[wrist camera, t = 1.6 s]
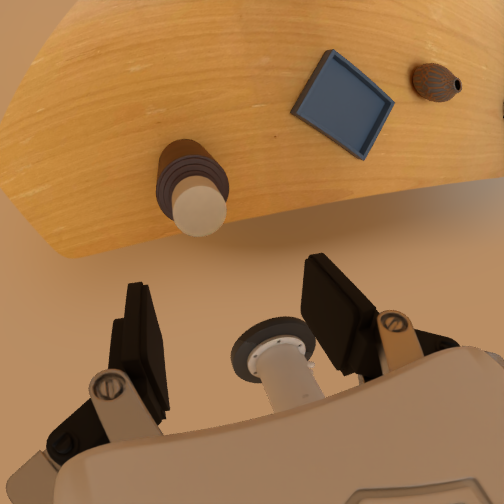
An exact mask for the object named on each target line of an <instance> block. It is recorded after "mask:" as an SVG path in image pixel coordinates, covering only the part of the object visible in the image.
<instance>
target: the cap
mask: <svg viewBox="0 0 504 504" xmlns="http://www.w3.org/2000/svg"><path fill="white" fill-rule="evenodd" d="M172 211H173V219H174V222H175V224H176V225H177V227H178V228H179V229H180V230H181V231H182V232H183V233H185V234H187V235H190V236H194V237H203V236H207V235H210V234H212V233H213V232H215V231H216V230H217V229H218V228H220V226H221V225H222V224H223V222H224V220H225V217H226V212H227V208H226V203H225V200H224V198H223V197H222V195H221V193H220V192H219V190H218V189H217V187H216V186H215V184H214V183H213V182H212V181H211V180H209V179H208V178H206V177H203V176H190V177H187V178H185V179H183V180H182V181H180V182H179V183H178V184H177V185H176V187H175V189H174V191H173V193H172Z"/></svg>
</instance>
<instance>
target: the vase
mask: <svg viewBox="0 0 504 504" xmlns="http://www.w3.org/2000/svg"><path fill="white" fill-rule="evenodd" d="M413 84H414V87H415V89H416V90H417V92H418V93H419V94H420V95H421V96H422V97H424V98H425V99H427V100H430V101H433V102H445V101H448V100H450V99H451V98H453V97H454V96H455V94H457V93H459V92H460V91H461V90H462V84H461V81H460V79H459V78H457V77H455V76H454V75H453V74H452V73H451V72H450V71H449V70H448V69H447V68H445V67H444V66H442V65H439V64H435V63H427V64H423V65H421V66H419V67H418V68H417V69H416V70H415V72H414V75H413Z"/></svg>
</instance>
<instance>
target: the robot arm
mask: <svg viewBox="0 0 504 504" xmlns="http://www.w3.org/2000/svg"><path fill="white" fill-rule="evenodd" d="M301 315H302V317H303V319H304V320H305V322H306V323H307V325H308V326H309V328H310V329H311V331H312V333H313V334H314V336H315V337H316V339H317V340H318V342H319V344H320V345H321V347H322V348H323V350H324V351H325V353H326V354H327V356H328V358H329V359H330V361H331V362H332V364H333V365H334V367H335V368H336V369H337V370H340V371H341V372H342V373H343V375H344V376H346V375H349V374H352V373H356V374H358V379H359V386H356V387H354V388H351V389H348V390H345V391H343V392H340V393H337V394H334V395H332V396H329V397H326V398H325V396H324V394H323V393H322V391H321V389H320V387H319V385H318V384H317V382H316V380H315V378H314V377H313V370H312V369H309V368H313V367H314V366H315V363H314V362H310V361H309V362H307V360H306V358H305V356H304V355H305V345H304V343H303V342H302V340H301V339H300V338H298V337H296V336H294V335H278V336H274V337H271V338H269V339H267V340H265V341H263V342H261V343H260V344H259V345H257V346H256V347H255V348H254V349H253V350H252V351H251V353H250V354H249V356H248V359H247V366H248V369H249V371H250V373H251V374H252V375H254V376H256V377H259V378H260V379H261V381H262V384H263V386H264V389H265V391H266V394H267V396H268V399H269V401H270V403H271V406H272V408H273V411H274V414H270V415H267V416H262V417H259V418H255V419H250V420H246V421H242V422H238V423H233V424H228V425H223V426H219V427H213V428H208V429H202V430H196V431H190V432H184V433H177V434H170V435H163V433H162V432H161V430H160V429H159V427H158V425H159V424H160V423H161V422H162V420H163V419H166V414H165V411H169V410H170V406H169V398H168V389H167V382H166V381H167V380H166V371H165V360H164V348H163V339H162V335H161V331H160V328H159V324H158V321H157V317H156V313H155V310H154V306H153V302H152V298H151V294H150V290H149V287H148V285H143V283H142V282H137V283H129V284H128V289H127V296H126V305H125V314H124V318H121V319H115V320H114V321H113V329H112V336H111V344H110V355H109V364H108V369H107V370H104V371H101V372H100V373H98V374H96V375H95V376H94V377H93V378H92V380H91V382H90V384H89V394H90V397H91V398H90V399H89V400H87V401H86V402H85V403H84V404H83V405H82V406H81V407H80V408H78V409H77V410H76V411H75V412H74V413H73V414H72V415H71V416H69V417H68V418H67V419H66V420H65V421H64V422H63V423H62V424H60V425H59V426H58V427H57V428H56V429H55V430H54V431H53V432H52V433H51V434H50V435H49V437H48V439H47V445H46V448H47V449H46V450H45V451H43V452H42V451H41V450H39V451H38V452H37V453H36V454H35V455H34V456H33V457H32V458H31V459H29V460H28V461H27V462H26V463H25V464H24V465H23V466H22V467H21V468H19V469H18V470H17V471H16V472H15V473H14V474H13V475H12V476H11V477H10V478H9V479H8V481H7V484H6V492H7V494H8V497H9V499H10V501H11V502H12V503H13V504H504V360H503V358H501V356H499V355H497V354H495V353H491V352H487V351H483V350H481V349H479V348H476V347H471V346H462V347H460V345H459V344H458V343H457V342H456V341H454V340H453V339H451V338H448V337H444V336H441V335H436V334H432V333H428V332H424V331H420V330H416V329H414V328H413V326H412V323H411V321H410V319H409V318H408V317H407V316H406V315H405V314H403V313H401V312H398V311H394V310H387V311H383V312H381V313H379V312H378V311H377V310H376V307H375V306H374V305H373V304H372V303H371V302H370V301H369V300H368V299H367V298H366V296H365V295H364V294H363V293H362V292H361V291H360V290H359V289H358V288H357V287H356V286H355V285H354V284H353V283H352V282H351V281H350V280H349V279H348V278H347V277H346V276H345V275H344V274H343V272H341V270H340V269H339V268H338V267H337V266H335V264H334V263H333V262H332V261H331V260H330V259H329V258H328V257H327V256H326V255H325V254H324V253H319V254H313V255H310V256H309V257H308V259H306V260H305V266H304V278H303V288H302V299H301ZM308 367H309V368H308Z"/></svg>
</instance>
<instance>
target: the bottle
mask: <svg viewBox="0 0 504 504" xmlns="http://www.w3.org/2000/svg"><path fill="white" fill-rule="evenodd" d="M190 176H203V177H206V178H208V179H209V180H211V181H212V182H213V183H214V184H215V186H216V187H217V189H218V190H219V192H220V193H221V195H222V197H223V198H224V200H225V203H226V201H227V198H228V194H229V182H228V178H227V176H226V173H225V172H224V170H223V169H222V167H221V166H220V165H219V164H218V163H217V162H216V161H215V160H214V158H213V157H212V156H211V155H210V154H209V153H208V152H207V151H206V150H205V149H204V148H203V147H202V146H201V145H200V144H199V143H197V142H195V141H192V140H188V139H182V140H177V141H175V142H172V143H171V144H169V145H168V146H167V147H166V148H165V149H164V151H163V152H162V154H161V156H160V160H159V167H158V175H157V185H156V197H157V202H158V204H159V206H160V208H161V210H162V211H163V213H164V214H165V215H166V216H167V217H168V218H170V219H171V220H173V221H174V219H173V211H172V193H173V191H174V189H175V187H176V185H177V184H178V183H179V182H180V181H182V180H183V179H185V178H187V177H190Z"/></svg>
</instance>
